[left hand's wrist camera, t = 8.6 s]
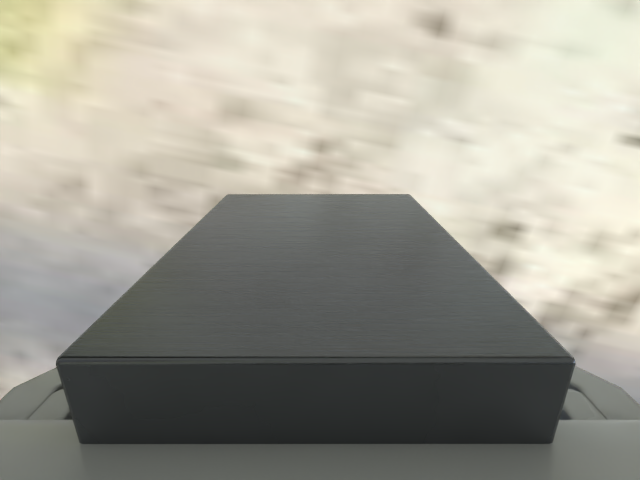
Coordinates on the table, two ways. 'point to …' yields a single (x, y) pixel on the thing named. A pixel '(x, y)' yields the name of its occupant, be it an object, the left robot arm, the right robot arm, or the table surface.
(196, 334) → the box
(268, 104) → the table surface
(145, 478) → the left robot arm
